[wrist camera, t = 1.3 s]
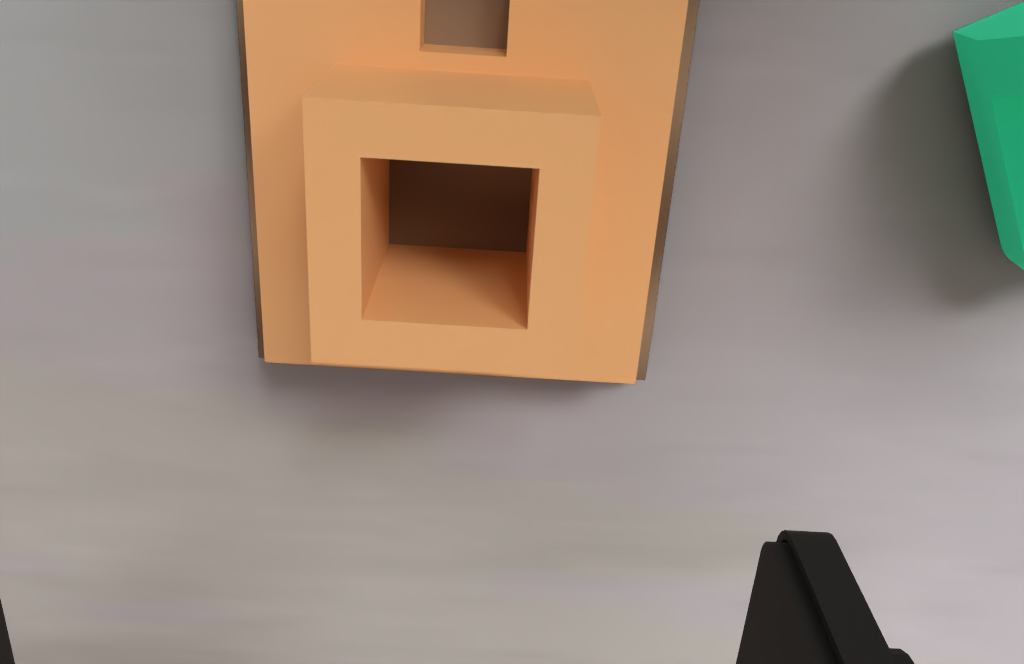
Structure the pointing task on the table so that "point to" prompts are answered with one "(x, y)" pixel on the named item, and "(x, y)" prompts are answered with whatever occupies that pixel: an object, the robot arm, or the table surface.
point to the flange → (464, 140)
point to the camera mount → (998, 115)
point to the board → (477, 188)
